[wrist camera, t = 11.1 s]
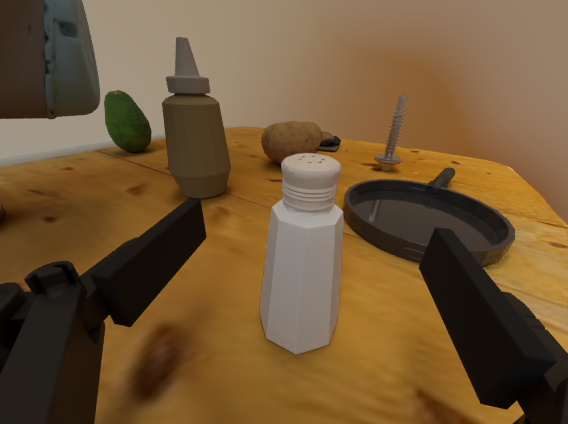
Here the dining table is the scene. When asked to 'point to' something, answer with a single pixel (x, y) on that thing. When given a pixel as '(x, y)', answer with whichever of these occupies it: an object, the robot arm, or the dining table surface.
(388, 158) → the screw
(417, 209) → the pan
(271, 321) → the salt shaker
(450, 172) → the pan handle
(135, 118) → the avocado
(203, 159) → the squeeze bottle
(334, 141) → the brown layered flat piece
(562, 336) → the dining table surface
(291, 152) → the potato
